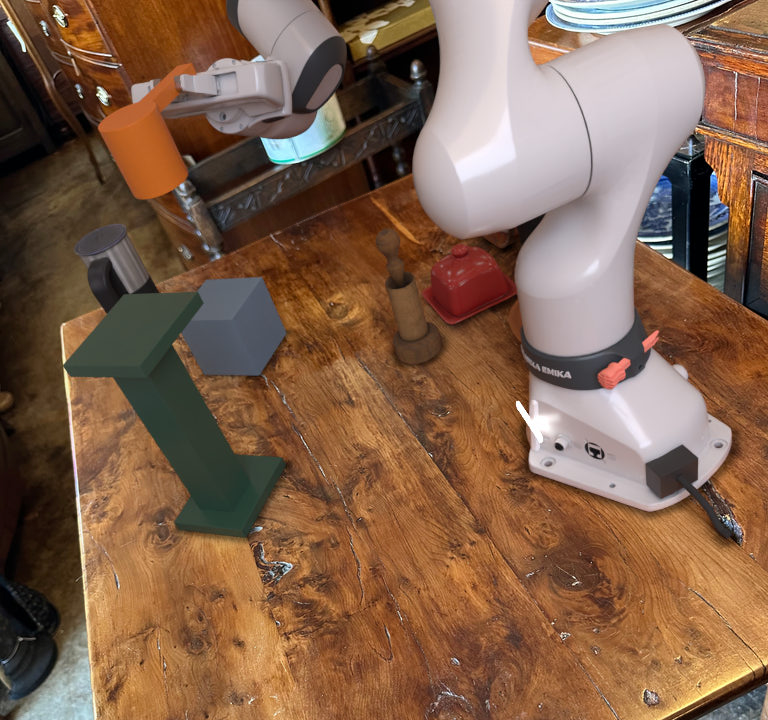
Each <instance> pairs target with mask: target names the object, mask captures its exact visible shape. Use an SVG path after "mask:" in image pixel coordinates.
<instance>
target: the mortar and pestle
mask: <svg viewBox="0 0 768 720" xmlns="http://www.w3.org/2000/svg"><path fill="white" fill-rule="evenodd" d="M375 246H376V249H377V250H378V251H379V252H380V253H381V254H382V255H383V256H384V257H385V258H386V260H387V261H386V264H385V268H386V271H387V272H388V274H389V276H388V277H387V278H386V279H385V281H384V286H385V290H386V293H387V296H388V299H389V303H390V307H391V309H392V312H393V313H392V314H393V317H394V319H395V322H396V326H397V331H396V332H395V334H394V335H393V337H392V345H393V349H394V352H395V355H396V358H397V360H398V361H400V362H402V363H404V364H408V365H418V364H423V363H426V362H428V361H430V360H432V359H433V358H434V357H436V356H437V355H438V354H439V353H440V351H441V350H442V348H443V347H442V346H443V341H442V337H441V334H440V333H441V332H440V330H439V328H438V326H437V325H436V324H434V323H432V322H430V321H427V319H426V316H425V311H424V308H423V304H422V300H421V297H420V293H419V289H418V285H417V281H416V278H415V274H414V273H412V272H410V271H405V261H404V260H403V259H402V258H399V250H400V246H401V238H400V235H399V233H398V232H397V231H396V230H395V229H393V228H383V229H381V230H380V231H379V232H378V233H377V235H376V237H375Z"/></svg>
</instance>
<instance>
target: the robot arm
mask: <svg viewBox="0 0 768 720" xmlns="http://www.w3.org/2000/svg"><path fill="white" fill-rule="evenodd" d="M549 1H550V0H428V2H429V5H430V9H431V12H432V15H433V18H434V19H433V20H434V22H435V26H436V31H437V37H438V44H439V45H438V46H439V74H438V82H437V88H436V92H435V95H434V96H435V97H434V100H433V103H432V106H431V108H430V111H429V114H428V117H427V119H426V121H425V122H424V124H423V126H422V128H421V130H420V132H419V135H418V137H417V139H416V142H415V145H414V149H413V156H412V167H411V169H412V170H411V171H412V181H413V182H412V183H413V187H414V190H415V194H416V197H417V199H418V202H419V204H420V206H421V207H422V210H423V211H424V212H425V214H426V215H427V217H428V218H429V219H430V220H431V222H433V224H435V225H436V227H438V228H439V229H440V230H441V231H443V232H445V233H446V234H447V235H449V236H452V237H453V238H455V239H458V240H467V239H473V238H478V237H482V236H483V235H488V234H492V233H496V232H500V231H504V230H508V229H512V228H514V227H516V226H519V225H521V224H523V223H525V222H527V221H529V220H532V219H534V218H536V217H538V216H540V215H542V214H545V213H546V214H545V216H544V218H543V219H542V221H541V222H540V223H539V225H538V226H537V227H536V228H535V230H534V231H533V232H532V233H531V234H530V236H529V237H528V238H527V240H526V241H525V242H524V244H523V246H522V245H521V248H520V249H519V252H518V254H517V257H516V261H515V266H514V276H513V277H514V283H515V285H516V289H517V294H516V295H517V300H518V301H519V307H520V313H521V318H522V326H521V331H520V336H521V342H520V343H521V344H520V350H521V355H522V356H523V362H524V365H525V367H526V369H527V370H528V407H529V408H528V413H527V411H526V410H525V408H524V406H523V405H522V404H521V402H520V401H519V400H518V401H516V404H515V405H516V409H517V410H518V411H519V413H520V414H521V416H522V418H523V419H524V420H525V422H526V427H525V434H526V438H527V441H528V444H529V447H530V449H529V453H528V469H529V471H530V472H531V473H534V474H536V475H539V476H542V477H544V478H548V479H549V480H553V481H556V482H559V483H561V484H565V485H568V486H571V487H574V488H577V489H579V490H583V491H585V492H589V493H591V494H594V495H597V496H600V497H603V498H606V499H608V500H612V501H615V502H618V503H621V504H623V505H626V506H629V507H632V508H635V509H639V510H641V511H645V512H655V511H660V510H663V509H666V508H668V507H671V506H674V505H675V504H677V503H679V502H681V501H683V500H684V499H686V498H688V497H689V496H691V497H693V499H694V500H695V501H696V502H697V503H698V504H699V505H700V507H701V508H702V509H703V511H704V512H705V513H706V514H707V516H708V518H709V520H710V522H711V524H712V526H713V527H714V529H715V530H716V532H717V533H719V534H720V535H721V536H722V537H723V538H725V539H729V538H731V536H732V535H733V532H732V531H731V530H729V529H728V528H726V526H725V525H724V524H723V523H722V521H721V519H720V517H719V516H718V514H717V512H716V510H715V509H714V507H713V506H712V504H711V503H710V502H709V501H708V500H707V498H705V496H704V495H703V494H702V493H701V492H700V490H698V489H700V488H701V487H702V486H703V485H704V484H706V482H708V481H709V480H710V479H711V478H712V476H714V474H715V473H716V472H717V471H718V470H719V469H720V468H721V466H722V465H723V464H724V462H725V461H726V459H727V457H728V455H729V453H730V451H731V448H732V444H733V433H732V432H733V431H732V429H731V427H730V426H728V425H727V424H725V423H724V422H722V421H721V420H719V419H718V418H716V417H714V416H713V415H711V413H709V412H708V408H707V404H706V401H705V398H704V396H703V394H702V393H701V392H700V390H699V389H697V387H695V386H694V385H693V384H692V383H691V382H690V381H689V373H688V370H687V369H686V368H685V366H683V365H681V364H679V363H675V364H673V365H671V363H670V362H668V361H667V360H666V359H665V358H664V357H663V356H662V355H661V354H660V353H658V351H656V350H655V349H654V348H653V346H654V345H656V343H657V342H658V341H659V340H660V337H658V335H659V333H660V330H659V329H656V330H655V331H653V332H652V333H651V334H650V335H648V333H647V332H648V331H647V330H646V328H645V325H644V323H643V320H642V318H641V316H640V314H639V311H638V309H637V308H636V306H635V300H634V299H635V288H634V287H635V286H634V285H635V284H634V283H635V282H634V281H635V280H634V279H635V276H634V275H635V252H636V244H637V240H638V236H639V232H640V228H641V225H642V221H643V219H644V216H645V214H646V210H647V208H648V206H649V203H650V201H651V198H652V196H653V194H654V192H655V189H656V187H657V185H658V183H659V181H660V180H661V178H662V176H663V174H664V173H665V170H666V169H667V167H668V166H669V164H670V162H671V160H672V159H673V158H674V157H675V155H676V154H677V153H678V151H679V149H680V148H681V147H682V146H683V145H684V143H685V142H687V140H688V139H689V137H691V135H692V134H693V133H694V131H695V130H696V128H697V127H698V125H699V122H700V120H701V117H702V114H703V110H704V106H705V101H706V90H707V89H706V77H705V75H706V74H705V71H704V66H703V63H702V60H701V58H700V56H699V53H698V51H697V50H696V48H695V46H694V45H693V44H692V42H691V41H690V40H689V39H688V38H687V36H686V35H684V34H683V33H682V31H680V30H678V29H677V28H675V27H674V26H672V25H669V24H663V23H661V24H659V23H658V24H653V25H647V26H641V27H635V28H630V29H626V30H621V31H617V32H613V33H609V34H606V35H604V36H602V37H600V38H596V39H595V40H593V41H590V42H588V43H586V44H584V45H581V46H580V47H577V48H575V49H573V50H571V51H568V52H566V53H564V54H562V55H559V56H558V57H555V58H553V59H550V60H548V61H546V62H544V63H538V64H537V63H536V62H535V60H534V57H533V55H532V52H531V47H530V43H529V42H530V41H529V28H530V27H531V26H532V25H533V23H534V22H535V20H536V19H537V18H538V17H539V16H540V14H541V13H542V11H543V10H544V9H545V8H546V6H547V4H548V3H549ZM225 8H226V15H227V19H228V21H229V23H230V24H231V26H232V27H233V28H235V30H236V31H237V32H238V33H239V34H240V35H241V36H242V37H243V38H244V39H246V40H247V41H248V42H249V43H250V44H251V46H252V47H253V48H254V49H255V50H256V52H257V54H259V55H260V57H262V59H263V60H262V61H261V60H260V61H257V60H256V61H249V60H245V59H240V60H239V59H236V58H229V57H225V58H220V59H218V60H216V61H214V62H213V63H212V64H211V65H210V66H209V67H208V69H207V70H206V71H201V72H196V74H197V75H188V74H182V75H177V76H174V82H175V89H176V91H177V92H178V93H180V94H179V95H178V96H177V97H176V98H175V99H174V100H173V101H172V102H171V103H170V104H169V105H168V106H167V107H166V108H165V109H164V110H163V111H162V112H161V115H162V117H163V119H164V120H167V119H168V120H173V119H183V118H184V119H185V118H190V117H197V116H203V115H204V116H205V118H206V119H207V121H208V123H209V124H210V125H211V127H213V128H214V129H215V130H217V131H218V132H221V133H222V134H226V135H235V136H241V137H242V136H244V137H258V138H261V139H268V140H287V139H292V138H296V137H298V136H300V135H302V134H304V133H306V132H307V131H308V130H309V129H310V128H311V127H312V126H313V124H314V122H315V121H316V118H317V115H318V111H319V110H320V109H321V108H323V107H324V106H325V105H326V104H327V103H328V102H329V101H330V100H331V98H333V96H334V95H335V93H336V92H337V91H338V89H339V87H340V85H341V84H342V82H343V79H344V77H345V72H346V66H347V59H348V48H347V42H346V40H345V38H344V37H343V36H342V35H341V34H340V33H339V31H338V30H337V29H336V27H335V26H334V25H333V24H332V23H331V22H330V20H329V19H328V18H327V17H326V15H324V13H323V12H322V11H321V10H320V9H319V7H318V6H317V5H316V4H315V3H314V2H313V1H312V0H225ZM163 79H164V78H155V79H151V80H149V81H146V82H145V81H144V82H141V83H140V82H139V83H135V84H133V85H132V86H131V88H130V89H131V90H130V93H131V102H132V104H134V103H137V102H139V101H140V100H141V99H142V98H143V97H145V96H146V95H147V94H148V93H149V92H150V91H151V90H152V89H153V88H154V87H155V86H156V85H157V84H158V83H160V82H161V81H162V80H163Z"/></svg>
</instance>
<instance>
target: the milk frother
mask: <svg viewBox="0 0 768 720" xmlns="http://www.w3.org/2000/svg"><path fill="white" fill-rule="evenodd" d="M73 252H74V254H76V255H78V256H79V258H80V259H81V262H82V263H83V264H84V266H85V268H86V270H87V273H86V275H87V282H88V285H89V288H90V290H91V293H92V294H93V296H94V297H95V300H96V301H97V302H98V303H99V304H100V306H101V308H102V309H103V310H104V313H105V314H106V315H107V314H108V312H109V311H110V310H111V309H112V308H113V307H114V305H115V304H116V303H117V302H118V301H119V300H120V299H121V297H122V296H123V295H124V294H148V293H161V292H160V290H159V288H158V287H157V285H156V284H155V282H154V279H153V278H152V276H151V275H150V273H149V271H148V269H147V267H146V266H145V263H144V262H143V260H142V258H141V256H140V254H139V253H138V251H137V249H136V247H135V245H134V243H133V242H132V240H131V238H130V236H129V235H128V233H127V227H126V226H125V224H122V223H113V224H108V225H105V226H101V227H99V228H96V229H95V230H93V231H90V232H89V233H87V234H86V235H84V236H83V237H82V238H80V240H78V241H77V243H76V244H75V245H74V248H73Z"/></svg>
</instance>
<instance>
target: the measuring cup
mask: <svg viewBox="0 0 768 720" xmlns="http://www.w3.org/2000/svg"><path fill="white" fill-rule="evenodd" d="M196 73H197V72H196V70H195V67H194V65H193V63H192V62H190V63H184V64H180V65H179V64H178V65H176V66H175V67H174V68H173V69H172V70H171V71H170V72H169V73H168V74H167V75H166V76H165V77H164V78H162V79H163V80H162V81H161V82H160V83H158V84H157V85H156V86H155V87H154V88H153V89H152V90H151V91H150V92H149V93H148V94H147V95H146V96H145V97H143V98H142V99H141V100H140V101H139V102H137V103H134V104H133V103H131V104H128V105H126V106H123V107H121V108H119V109H117V110H115V111H113V112H111V113H110V114H108V115H107V116H106V117H104V118H103V119H102V120H101V121H100V122H99V124H98V126H97V130H98V133H100V136H101V137H102V139H103V141H104V143H105V145H106V147H107V149H108V150H109V152H110V154H111V157H112V159H113V160H114V162H115V164H116V165H117V167H118V169H119V171H120V173H121V175H122V178H123V179H124V180H125V182H126V184H127V186H128V188H129V190H130V192H131V194H132V196H133V197H134V198H135V199H137V200H141V201H142V200H151V199H155V198H159V197H162V196H164V195H166V194H168V193H170V192H172V191H174V190H175V189H177V188H178V187H180V186H181V185H182V184H183V183H184V182H185V181H187V178H188V176H189V171H188V168H187V166H186V163H185V162H184V160H183V158H182V155H181V153H180V152H179V149H178V147H177V145H176V142H175V140H174V138H173V137H172V134H171V132H170V130H169V128H168V126H167V123H166V121H165V119H164V118H163V117H162V115H161V112H162V111H163V110H164V109H165V108H166V107H167V106H168V105H169V104H170V103H171V102H172V101H173V100H174V99H175V98H176V97H177V96H178V95H179V94H180V93H178V92H177V91H176V89H175V82H174V76H177V75H182V74H188V75H197V74H196Z"/></svg>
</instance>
